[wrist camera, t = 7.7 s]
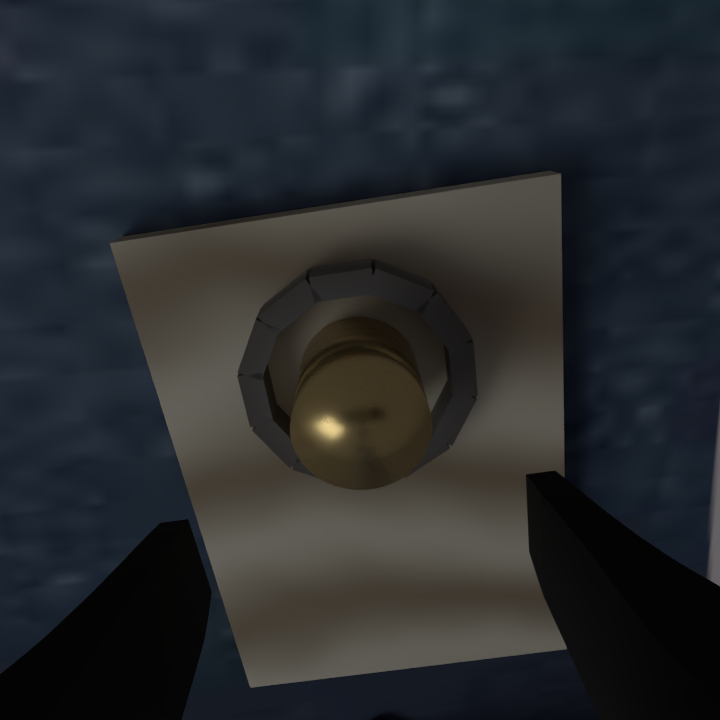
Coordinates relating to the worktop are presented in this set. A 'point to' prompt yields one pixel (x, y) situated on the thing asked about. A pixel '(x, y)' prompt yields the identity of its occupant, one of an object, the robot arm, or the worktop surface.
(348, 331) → the brass fitting
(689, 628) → the robot arm
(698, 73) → the worktop surface
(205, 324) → the jig board
